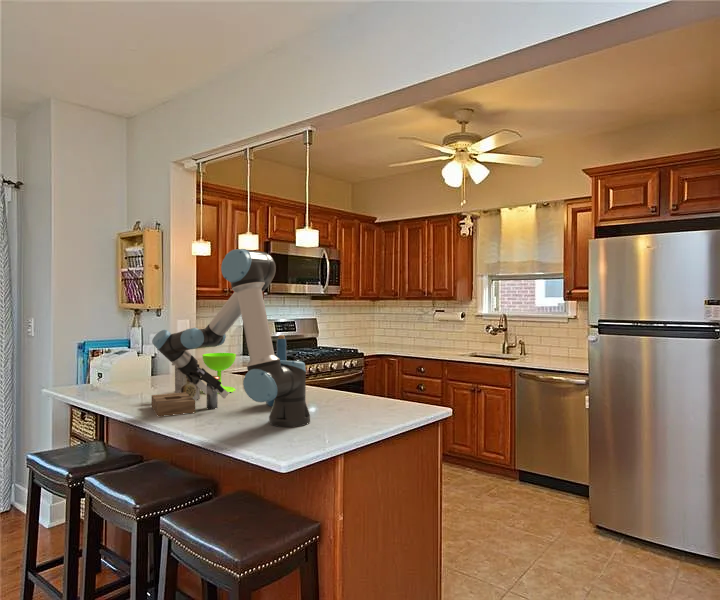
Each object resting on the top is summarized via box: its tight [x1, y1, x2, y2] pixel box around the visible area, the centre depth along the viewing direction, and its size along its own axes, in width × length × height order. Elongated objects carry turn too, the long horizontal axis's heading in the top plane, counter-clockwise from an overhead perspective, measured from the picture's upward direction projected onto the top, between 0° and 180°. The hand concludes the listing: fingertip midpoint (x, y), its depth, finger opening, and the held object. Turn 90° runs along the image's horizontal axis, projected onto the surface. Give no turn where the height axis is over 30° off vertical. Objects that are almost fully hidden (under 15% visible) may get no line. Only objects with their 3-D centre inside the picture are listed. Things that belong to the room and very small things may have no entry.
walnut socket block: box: [151, 392, 196, 417], centre depth 218 cm, size 20×14×5 cm
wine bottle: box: [265, 334, 288, 408], centre depth 229 cm, size 14×13×30 cm
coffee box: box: [174, 363, 201, 401], centre depth 238 cm, size 9×6×16 cm
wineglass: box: [201, 352, 237, 395], centre depth 261 cm, size 16×16×18 cm
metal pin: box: [206, 375, 220, 410], centre depth 222 cm, size 6×6×13 cm
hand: (216, 393), depth 224 cm, fingers open, 13 cm apart
